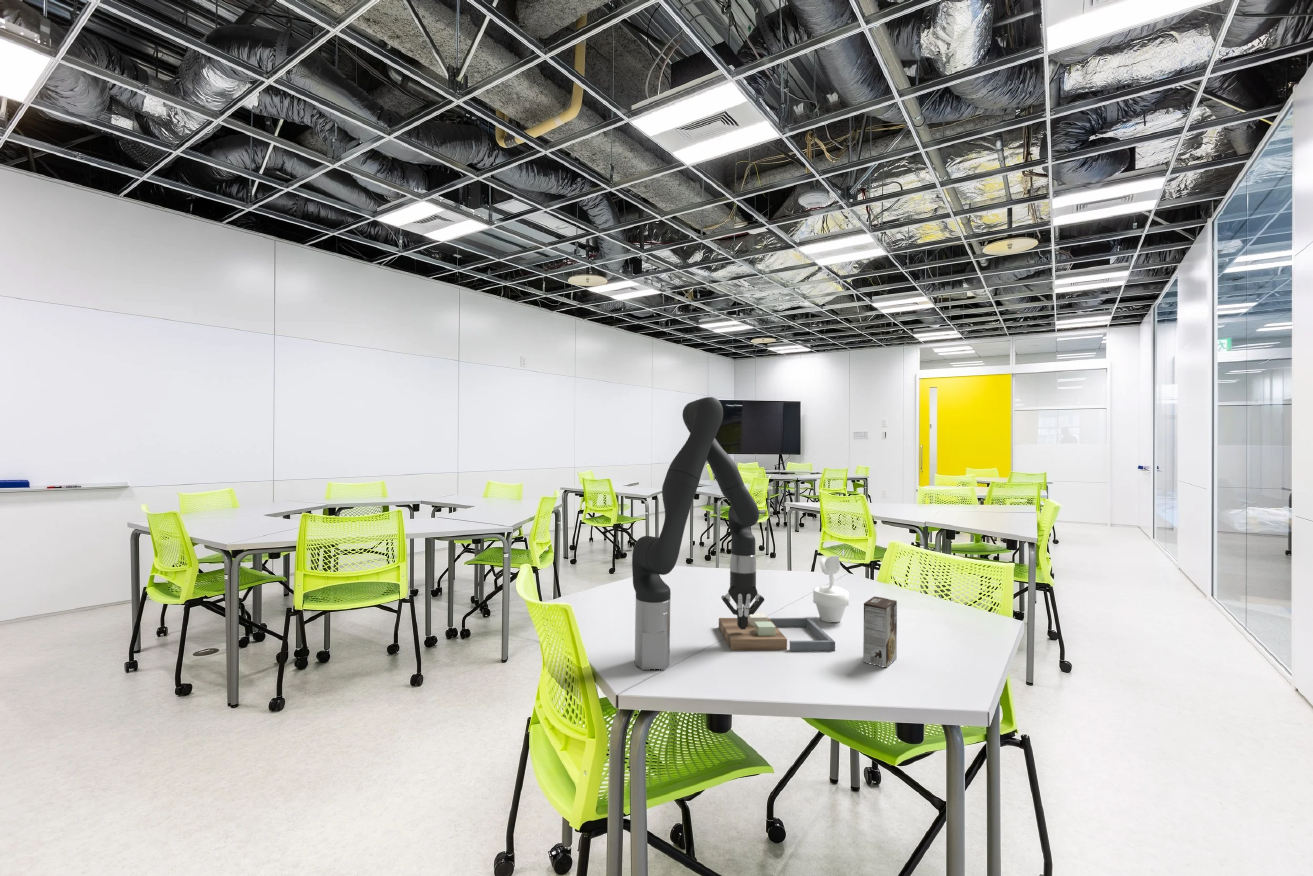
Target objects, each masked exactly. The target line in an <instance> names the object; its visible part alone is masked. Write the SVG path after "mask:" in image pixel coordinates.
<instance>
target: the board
mask: <svg viewBox="0 0 1313 876" xmlns="http://www.w3.org/2000/svg"><path fill="white" fill-rule="evenodd" d="M767 622H772V621H771V620H770V617H767ZM772 623H773V622H772ZM773 625H774V624H773ZM774 626H775V625H774ZM775 627H776V626H775ZM718 629H719V631H720V632H721V634H722V636H723V638H724V639H725V641H726V643H727V645H728V647H729V649H730V651H772V650H775V651H781V650H783V651H784V650H785V651H788V638H787V637H786V636H785V635H784V634H783V633H782V631H781V630H780V629H779V627H776V634H775V636H758V634H757V633H756V632H755V630H754V626H751V625H750V624H749V622H748V626H747V627H746V629H740V628H739V627H738V625H737V617H719V618H718Z"/></svg>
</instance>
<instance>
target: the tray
mask: <svg viewBox="0 0 1313 876" xmlns="http://www.w3.org/2000/svg"><path fill="white" fill-rule="evenodd" d="M769 619H770V620H771V621H772V622H773V624H774V625H775V626H776V627H777V628H797V627H798V628H802V627H803V628H805V627H806V628H807V630H809V631H810V632H811V633H812V634H813V635H814V634H815V635H814V636H815V637H817V639H818V640H789V650H790V652H824V651H825V652H826V651H827V652H828V651H829V652H830V651H831V652H833V651H836V641H835V640H834V639H833V638H832V637H831V636H830V635H829V634H828V633H826V632H825V631H824V630H823V629H822V628H820V627H819V625H817V624H816V623H815V622H814V621H813V620H812V619H811V618H809V617H769Z"/></svg>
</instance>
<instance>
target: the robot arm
mask: <svg viewBox="0 0 1313 876" xmlns="http://www.w3.org/2000/svg"><path fill="white" fill-rule="evenodd" d="M723 418H724V408H723V405H722V403H721V401H720V400H719V399H717V398H715V397H713V396H708V397H703V398H699V399H696V400H693V401H689V402H688V403H687V404H685V406H684V407H683V410H682V420H683V423H684V425H685V427H686V429H687V430H688V433H689V435H688V437H687V440H686V441H685V443H684V444H683V445H682V447H681V449H679V451H678V452H677V454H676V456H675V457H674V458H673V459H672V461H671V462H670V464H669V467H668V468H667V471H666V475H665V478H664V481H663V483H662V487H661V497H662V501H663V502H662V503H663V509H664V520H663V521H664V522H663V525H662V528H661V531H660V533H659V537H657V536H652V535H651V536H650V535H644V536H641V537H640V538H638V539H637V540H636V541H635V544H634V546H633V549H632V555H631V558H632V559H631V562H632V563H631V567H632V586H633V589H634V591H635V612H634V613H635V614H634V616H635V618H634V619H635V621H634V622H635V623H634V628H635V629H634V664H636V665H637V666H636V665H635V666H636V667H638V666H639V667H638V668H640V670H641V671H651V670H650V669H654V670H653V671H655V669H659V670H660V669H661V670H662V671H663V670H666V668H667V667H669V665H670V663H671V661H670V659H671V656H670V655H671V653H670V652H671V650H670V649H671V646H670V645H671V595H672V594H671V588H670V586H669V585H668V584H667V583H666V582H665V581H664V580H663V578H662V577H661V576H666V575H667V574H670V573H671V572H672V571H673V569H674V568H675V566H676V564H677V561H678V559H679V555H680V551H681V546H682V541H683V537H684V531H685V529H686V525H687V520H688V516H689V514H690V510H691V507H692V504H693V502H694V498H695V495H696V492H697V490H698V487H699V484H700V481H701V477H702V473H703V470H704V468H705V465H706V463H707V462H708V464H709V467H710V469H711V471H712V474H713V475H714V478H715V480H716V482H717V485H718V487H719V489H720V492H721V493H722V495H723V496H724V498H726V500H728V502H729V503H730V506H729V509H728V515H727V516H728V526H729V532H730V537H731V541H730V542H731V544H730V545H731V546H730V547H731V549H730V551H731V552H730V560H729V561H730V562H729V563H730V565H729V569H730V570H729V573H730V574H729V588H728V590H727V591H728V592H727V593H726V594H724V595H721V597H720V598H721V600H722V601H723V603H724V605H726V607H727V608H728V609H729V610H730V612H731V613H732V614H733V615H734V616H736V618H737V625H738V627H739V628H740V629H746V627H747V626H748V616H749V615H751V614H752V615H753V614H754V613H757V611H758V610H759V608H760V607H761V605H762V604H763V603H764V602H765V598H764V596H763V595H760V594H759V593H758V589H757V558H756V537H755V536H754V534H753V533H752V529H751V527H752V526H753V527H754V526H755V525H756V524H757V523H758V521H759V519H760V510H759V507H758V504H757V503H756V501H755V499H754V498H753V496H752V494H751V492H749V490H748V488H747V487H746V485H745V482H744V480H743V477H742V475H741V473H740V471H739V468H738V466H737V465H736V463H735V461H734V460H733V458H731V456H730V455H729V454H728V452H726V450H724V449H723V447H722V446H721V444H719V442H718V440H717V439H716V436H717V433H718V432H719V429H720V427H721V424H722V422H723ZM731 599H732V600H733V602H734V603H735V607H736V608H734V606H733V604H731ZM752 602H753V603H752ZM751 603H752V604H751ZM750 604H751V605H750ZM661 670H660V671H661Z"/></svg>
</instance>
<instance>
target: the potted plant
mask: <svg viewBox="0 0 1313 876" xmlns="http://www.w3.org/2000/svg"><path fill="white" fill-rule="evenodd" d="M841 554H842V557H844V555H845V554H846V553H845V550H844V547H842V551H841ZM847 561H848V564H850V563H851V560H850V558H848V560H847ZM842 563H843V565H845V564H846V562H845V561H842ZM819 565H820V568H821V571H822V573H823V574H824V575H826V576H828V577H829V578H828V579H829V584H828V585H821V586H820V585H819V586H817V587H814V588H813V590H812V591H813V593H812V594H813V595H812V597H813V600H812V601H813V604H815V605H816V609H817V611H818V612H817V613H818V615H819V619H820V620H821V621H823V622H825V621H826V622H825V623H829V622H837V623H840V622H841V620H842V618H843V615H844V613H845V610H846V607H848V606H849V603H850V602H849V598H850V597H849V595H850V593H849V591H848V590H846V589H844V588H842V587H839V586H835V576H834V575H835V574H837V573H838V572H839V571H840V567H841V561H840V555H831V556H829V557H827V558H826V557H822V558H820V559H819Z"/></svg>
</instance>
